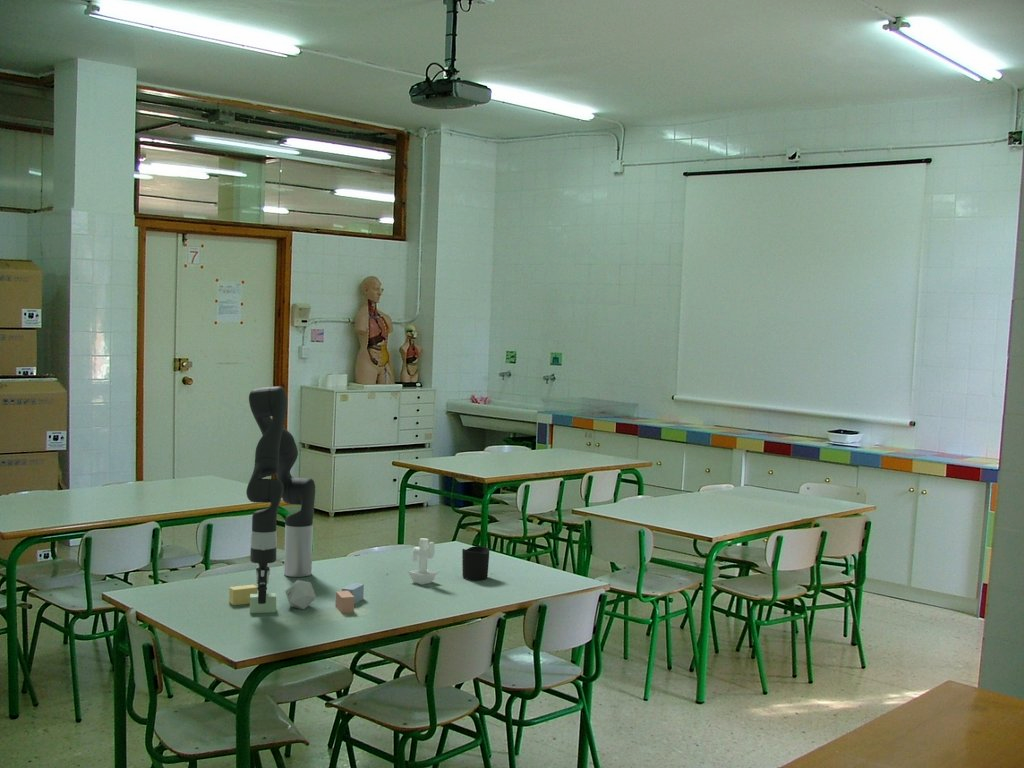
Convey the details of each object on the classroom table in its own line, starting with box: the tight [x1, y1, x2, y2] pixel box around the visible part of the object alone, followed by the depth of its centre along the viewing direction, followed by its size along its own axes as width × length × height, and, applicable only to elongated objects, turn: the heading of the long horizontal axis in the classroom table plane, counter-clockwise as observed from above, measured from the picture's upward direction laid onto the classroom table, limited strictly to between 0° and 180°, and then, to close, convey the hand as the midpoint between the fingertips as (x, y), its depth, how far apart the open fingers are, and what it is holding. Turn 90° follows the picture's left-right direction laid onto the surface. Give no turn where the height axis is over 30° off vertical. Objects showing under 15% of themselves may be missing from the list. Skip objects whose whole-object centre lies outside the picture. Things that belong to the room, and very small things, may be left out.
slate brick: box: [341, 582, 365, 605], centre depth 312 cm, size 4×8×5 cm, turn 161°
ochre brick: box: [228, 584, 258, 606], centre depth 306 cm, size 4×8×5 cm, turn 123°
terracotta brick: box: [334, 590, 355, 614], centre depth 302 cm, size 4×8×5 cm, turn 24°
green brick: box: [249, 592, 277, 614], centre depth 298 cm, size 4×8×5 cm, turn 105°
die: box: [284, 579, 317, 610], centre depth 303 cm, size 8×9×10 cm
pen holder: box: [461, 545, 490, 581], centre depth 347 cm, size 9×9×10 cm
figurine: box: [407, 537, 439, 586], centre depth 338 cm, size 7×9×15 cm
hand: (262, 599), depth 297 cm, fingers open, 8 cm apart
